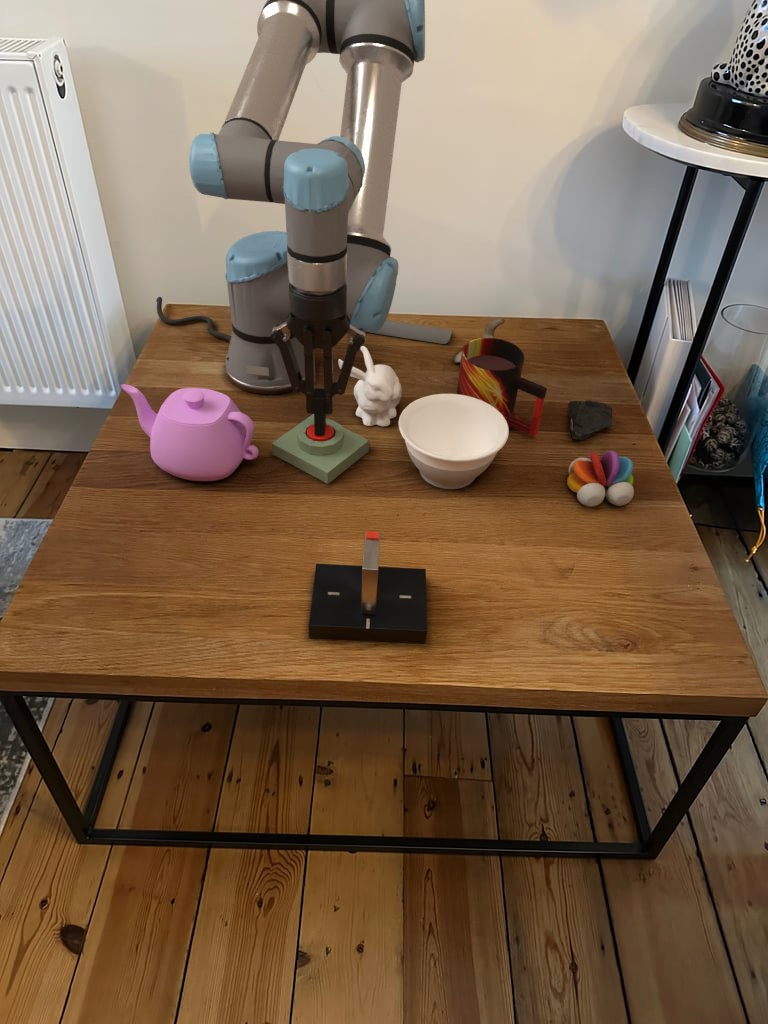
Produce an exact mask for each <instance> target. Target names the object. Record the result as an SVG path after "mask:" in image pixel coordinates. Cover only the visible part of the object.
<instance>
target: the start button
mask: <svg viewBox="0 0 768 1024" xmlns="http://www.w3.org/2000/svg"><path fill="white" fill-rule="evenodd" d="M333 437H334V429H333V428H332V427H331V426H330V425H328V424H326V428H325V436H322V435H315V434H314V424H313V425H311V426H310V427H309V428H308V430H307V438H309V439H311V440H313V441H319V442H323V441H328V440H330V439H332V438H333Z"/></svg>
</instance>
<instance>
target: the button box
mask: <svg viewBox="0 0 768 1024" xmlns="http://www.w3.org/2000/svg"><path fill="white" fill-rule="evenodd" d="M313 424H314V414H311V415H309V416H308V417H307V418H305V419H304V420H302V421H301V422H300V423H298V424H297V425H295V426H294V427H292V428H290V430H288V431H286V432H285V433H284V434H282V435H281V436H279V437H278V438H277V439H275V440H274V441H273V442H271V454H272V455H273V456H275V457H277V458H279V459H281V460H282V461H283V462H286V463H288V464H289V465H292V466H293V467H296V468H297V469H299V470H300V471H303V472H304V473H307V474H308V475H310V476H312V477H313V478H316V479H317V480H320V481H321V482H323V483H325V484H327V485H328V484H330V483H331V482H332V481H334V480H335V479H336V478H337V477H338V476H340V475H341V474H342V473H344V472H345V471H346V470H347V469H349V468H350V467H351V466H352V465H354V464H355V463H356V462H358V461H359V460H360V459H361V458H363V457H364V456H365V455H366V454H367V453H368V452H369V451H370V440H369V439H367V438H366V437H363V436H362V435H360V434H357V433H356V432H353V431H352V430H349V429H347V428H345V427H343V426H342V424H340V423H338V422H337V421H335V420H333V419H329V418H326V424H328V425H330V426H331V427H332V428H333V429H334V437H333V438H332V439H330V440H328V441H323V442H319V441H313V440H311V439H309V438H307V430H308V428H309V427H310V426H311V425H313Z"/></svg>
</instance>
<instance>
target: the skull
mask: <svg viewBox="0 0 768 1024" xmlns="http://www.w3.org/2000/svg"><path fill="white" fill-rule="evenodd" d="M505 321H506V320H505V318H503V317H498V318H495V319H493V320H491V321H490V322H489V323H488V324H487V325H486V327H485V328H484V332H483V334H482V335H481V337H480V338H495V332H496V329H497V328H498V327H499V326H501V325H503V324H504V323H505ZM461 355H462V351H460V352H459V353H457V355H456V356H455V357H454V359H453V362H454V364H458V363H461Z"/></svg>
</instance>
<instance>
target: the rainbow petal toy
mask: <svg viewBox="0 0 768 1024" xmlns="http://www.w3.org/2000/svg"><path fill="white" fill-rule="evenodd" d="M589 457H590V458H588V457H578V458H575V459H573V461H572V462H570V464H569V466H568V477H567V480H566V485H567V487H568V488H569V489H570V490H571V491H572V492H573V493H576V498H577V500H578V502H579V503H580V504H581V505H583V506H585V507H590V508H592V507H593V508H594V507H597V506H599V505H600V504H602V502H603V501H604V499H606V500H607V501H608V502H609V504H611V505H614V506H617V507H622V506H625V505H627V504H629V503H630V502H631V501H632V500H633V497H634V494H635V489H634V486H633V485H634V476H633V474H632V472H633V470H634V464H633V461H632V460H631V458H629V457H627V456H619V454H618V452H616V451H614V450H606V451H605V452H604V453H603V455H602V456H601V458H600V457H599V454H598V453H597V451H592V452H590V453H589Z"/></svg>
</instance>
